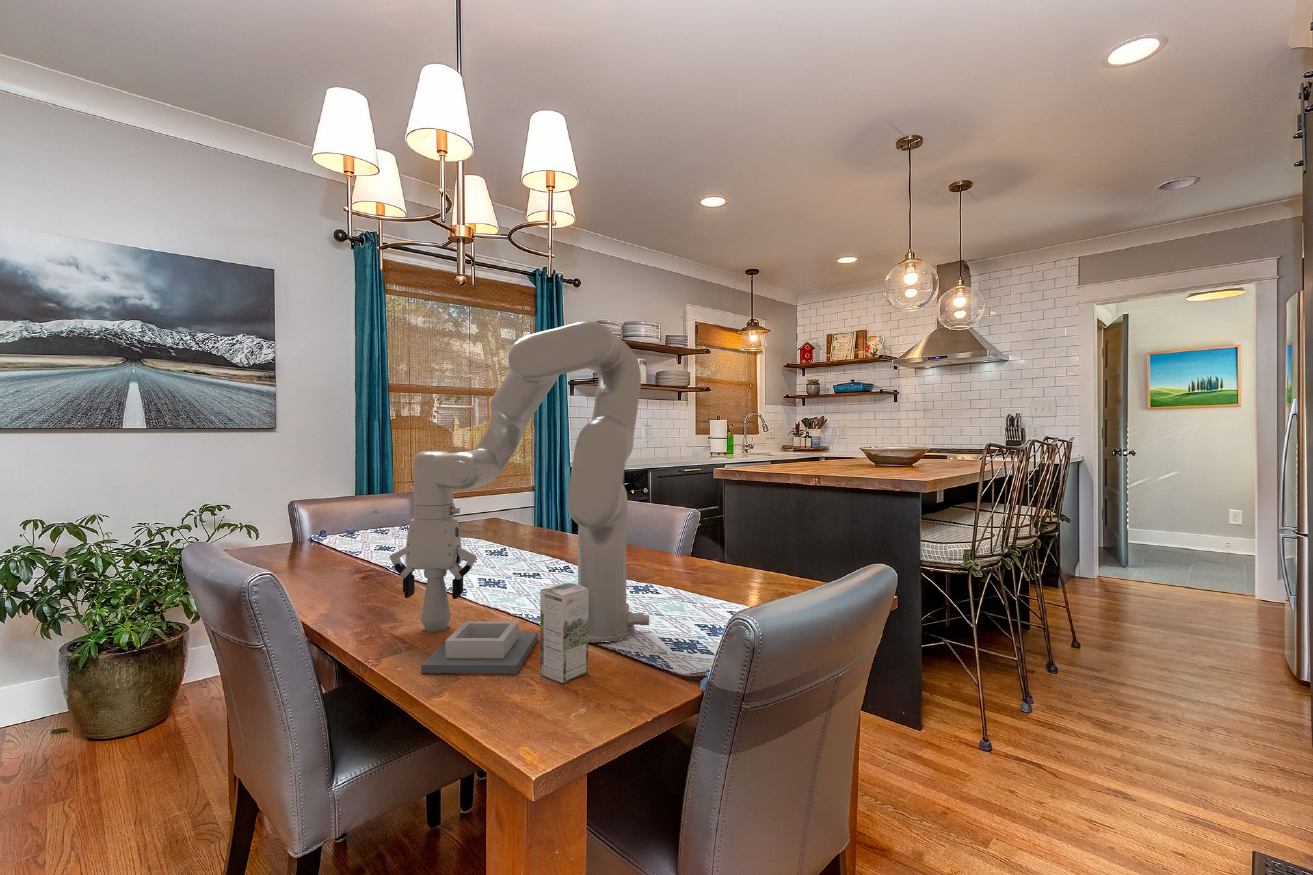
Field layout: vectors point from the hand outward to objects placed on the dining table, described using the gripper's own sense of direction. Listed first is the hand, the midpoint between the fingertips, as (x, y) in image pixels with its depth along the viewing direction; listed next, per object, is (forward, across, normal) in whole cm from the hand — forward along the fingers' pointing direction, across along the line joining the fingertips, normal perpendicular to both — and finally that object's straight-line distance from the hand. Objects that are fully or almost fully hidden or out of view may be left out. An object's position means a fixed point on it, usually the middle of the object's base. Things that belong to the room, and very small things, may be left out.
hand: (433, 596), depth 124 cm
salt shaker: (+7, -1, 0) cm, 7 cm away
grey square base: (+6, -15, +14) cm, 21 cm away
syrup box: (+6, -31, +22) cm, 38 cm away
